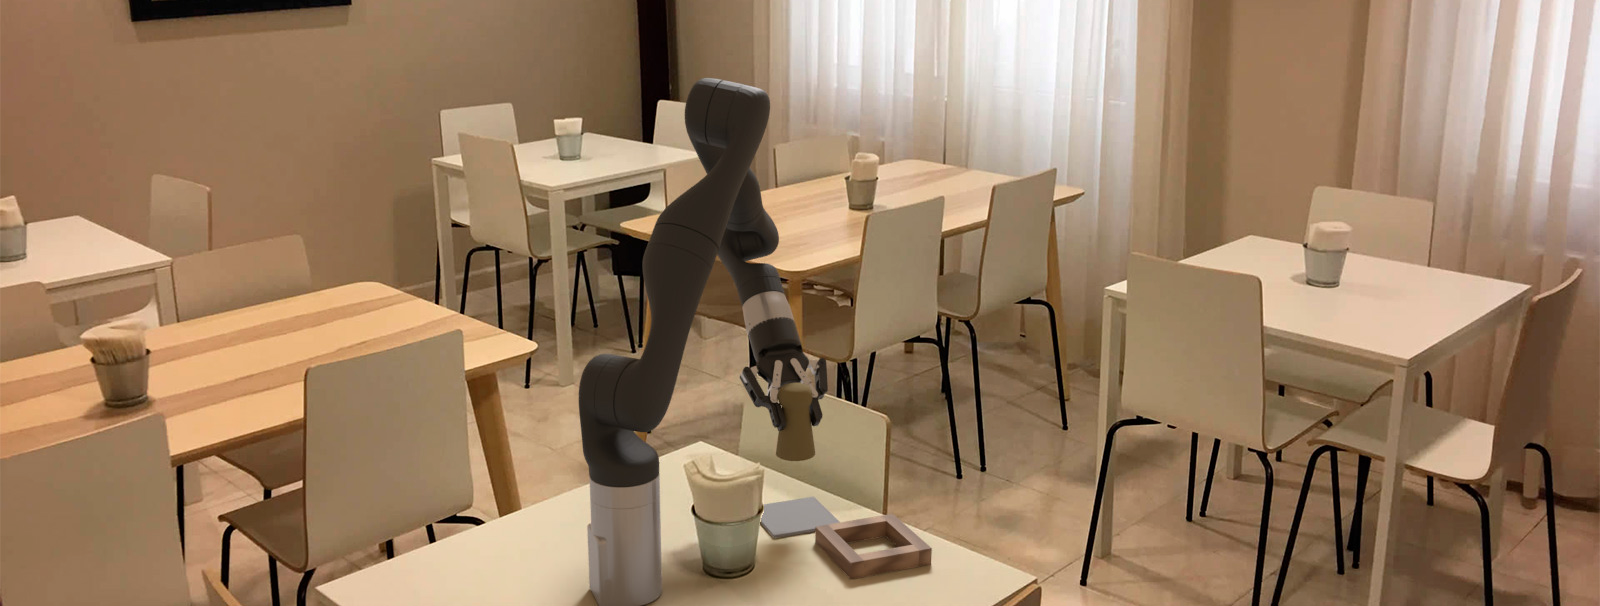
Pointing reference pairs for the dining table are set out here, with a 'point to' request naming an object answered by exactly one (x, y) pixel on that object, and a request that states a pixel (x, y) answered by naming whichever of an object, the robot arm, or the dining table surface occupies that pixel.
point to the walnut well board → (877, 562)
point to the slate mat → (795, 517)
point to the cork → (795, 423)
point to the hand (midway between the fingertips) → (799, 425)
